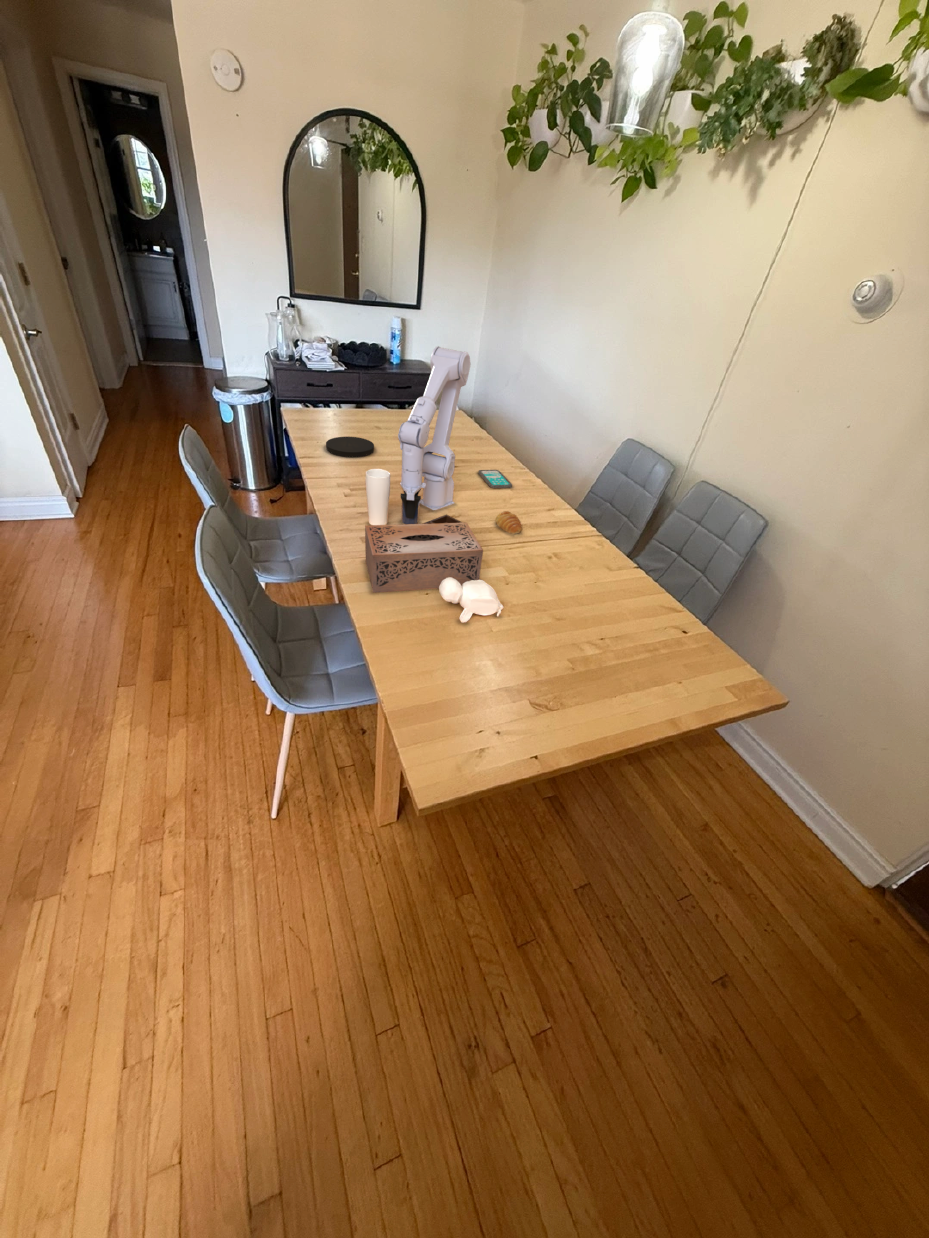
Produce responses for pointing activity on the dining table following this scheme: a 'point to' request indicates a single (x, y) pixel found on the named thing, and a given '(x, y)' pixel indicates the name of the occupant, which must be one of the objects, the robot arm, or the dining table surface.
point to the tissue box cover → (420, 555)
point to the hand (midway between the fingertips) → (410, 513)
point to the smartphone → (495, 479)
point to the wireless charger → (350, 447)
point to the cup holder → (443, 520)
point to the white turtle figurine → (471, 597)
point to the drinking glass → (377, 495)
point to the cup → (410, 520)
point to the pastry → (509, 522)
